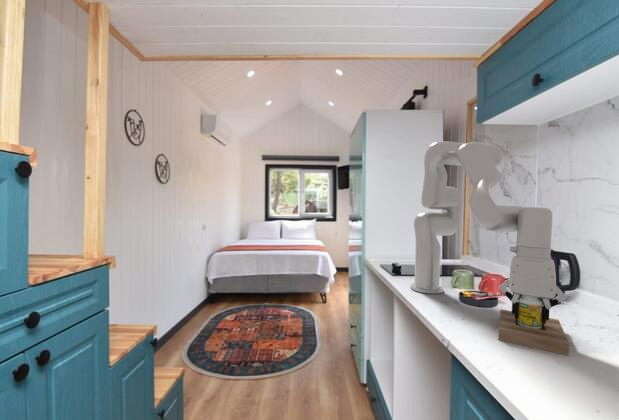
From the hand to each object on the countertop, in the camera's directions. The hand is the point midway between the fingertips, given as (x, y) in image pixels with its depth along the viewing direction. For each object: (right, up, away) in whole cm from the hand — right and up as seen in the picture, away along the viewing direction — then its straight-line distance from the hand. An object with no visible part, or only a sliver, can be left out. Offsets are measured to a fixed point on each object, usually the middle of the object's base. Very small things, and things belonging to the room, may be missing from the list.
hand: (529, 318), depth 84 cm
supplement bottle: (0, -2, 0) cm, 2 cm away
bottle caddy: (0, -4, 0) cm, 4 cm away
